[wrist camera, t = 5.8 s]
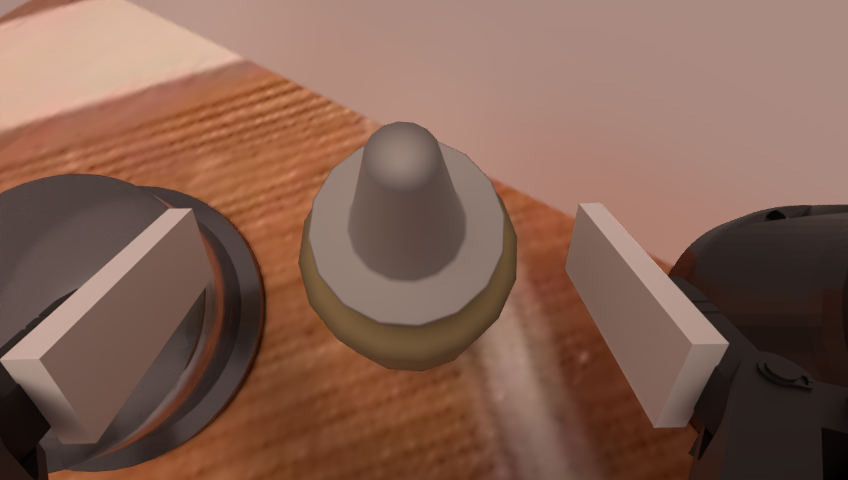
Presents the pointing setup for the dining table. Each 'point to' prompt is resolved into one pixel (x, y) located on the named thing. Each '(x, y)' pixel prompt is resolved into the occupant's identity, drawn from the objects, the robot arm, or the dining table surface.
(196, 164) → the dining table surface
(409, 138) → the squeeze bottle
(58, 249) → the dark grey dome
